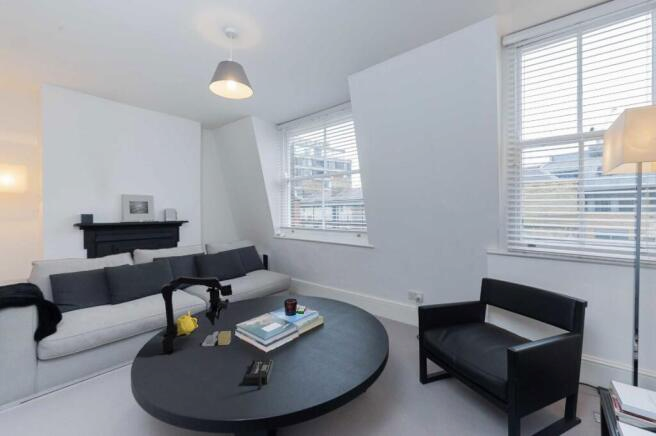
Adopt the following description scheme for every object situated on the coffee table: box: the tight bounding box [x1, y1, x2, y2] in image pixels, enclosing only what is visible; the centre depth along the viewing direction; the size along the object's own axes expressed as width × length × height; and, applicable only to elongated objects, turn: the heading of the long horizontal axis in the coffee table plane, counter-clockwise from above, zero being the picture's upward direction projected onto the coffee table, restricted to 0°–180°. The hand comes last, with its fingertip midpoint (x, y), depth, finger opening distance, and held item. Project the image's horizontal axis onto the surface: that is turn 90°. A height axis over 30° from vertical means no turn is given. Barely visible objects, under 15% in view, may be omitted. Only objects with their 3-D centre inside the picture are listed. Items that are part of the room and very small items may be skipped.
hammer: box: [201, 331, 220, 347], centre depth 181 cm, size 17×7×4 cm, turn 4°
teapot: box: [175, 310, 199, 337], centre depth 191 cm, size 20×15×12 cm
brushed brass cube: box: [217, 330, 232, 346], centre depth 176 cm, size 6×6×6 cm
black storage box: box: [244, 353, 274, 390], centre depth 141 cm, size 20×14×17 cm
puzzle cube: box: [296, 305, 307, 314], centre depth 206 cm, size 10×10×10 cm
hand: (215, 322), depth 177 cm, fingers open, 9 cm apart
